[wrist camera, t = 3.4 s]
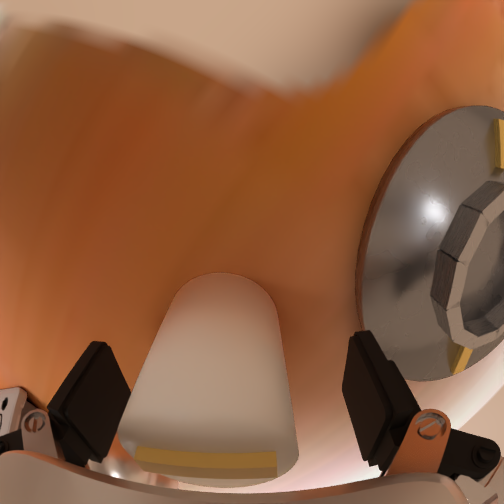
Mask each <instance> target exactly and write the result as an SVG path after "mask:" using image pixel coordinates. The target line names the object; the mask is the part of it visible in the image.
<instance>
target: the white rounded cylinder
mask: <svg viewBox="0 0 504 504" xmlns="http://www.w3.org/2000/svg"><path fill="white" fill-rule="evenodd" d="M117 434H118V439H119V441H120V443H121V445H122V446H123V448H124V449H125V450H126V451H127V452H128V453H129V455H131V456H132V457H133V458H134V461H135V462H136V463H137V464H138V465H139V466H140V467H141V469H142V470H143V471H145V472H151V473H158V474H161V475H163V476H166V477H168V478H171V479H174V480H177V481H181V482H184V483H188V484H193V485H199V486H206V487H218V488H234V487H245V486H252V485H257V484H261V483H265V482H268V481H270V480H273V479H275V478H278V477H280V476H281V475H283V474H285V473H286V472H288V471H289V470H290V469H291V468H292V467H293V466H294V465H295V463H296V462H297V460H298V456H299V452H298V444H297V437H296V430H295V423H294V416H293V409H292V403H291V396H290V389H289V383H288V376H287V370H286V363H285V357H284V351H283V344H282V338H281V332H280V326H279V319H278V313H277V309H276V306H275V304H274V302H273V300H272V299H271V297H270V295H269V294H268V293H267V292H266V291H265V290H264V289H263V288H262V287H261V286H260V285H258V284H257V283H255V282H254V281H252V280H250V279H248V278H246V277H243V276H240V275H236V274H232V273H209V274H205V275H201V276H198V277H196V278H194V279H192V280H190V281H188V282H187V283H186V284H184V285H183V286H182V287H181V288H180V289H179V290H178V292H177V293H176V295H175V296H174V298H173V300H172V302H171V305H170V307H169V309H168V311H167V313H166V315H165V317H164V320H163V322H162V324H161V326H160V328H159V331H158V333H157V335H156V337H155V339H154V342H153V344H152V346H151V348H150V351H149V353H148V355H147V358H146V360H145V362H144V365H143V367H142V369H141V372H140V374H139V376H138V379H137V381H136V383H135V386H134V388H133V391H132V393H131V396H130V398H129V400H128V403H127V405H126V408H125V410H124V413H123V416H122V418H121V421H120V423H119V426H118V429H117Z"/></svg>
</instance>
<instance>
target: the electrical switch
mask: <svg viewBox="0 0 504 504" xmlns="http://www.w3.org/2000/svg"><path fill="white" fill-rule="evenodd" d="M26 398H27V392H26V391H24V390H23V389H21V388H20V387H15V388H9V389H2V390H0V436H2V435H5V434H8V433H11V432H13V431H16V430H19V429H21V423H22V420H23V418H24V416H25V415H26V414H27V413H28V412H30V411H32V410H35V409H37V408H35V407H34V406H33V405H32V404H30V403H29V402H27V401H26Z"/></svg>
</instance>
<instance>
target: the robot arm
mask: <svg viewBox="0 0 504 504" xmlns="http://www.w3.org/2000/svg"><path fill="white" fill-rule="evenodd" d="M342 392H343V396H344V399H345V402H346V405H347V409H348V412H349V415H350V418H351V422H352V425H353V428H354V431H355V435H356V438H357V442H358V445H359V448H360V452H361V455H362V458H363V460H364V461H367V460H368V463H369V467H371V466H374V465H378V467H379V470H381V471H382V472H381V474H380V476H379V477H377V478H373V479H368V480H363V481H357V482H352V483H347V484H342V485H336V486H330V487H324V488H317V489H309V490H300V491H290V492H277V493H253V494H236V493H211V492H198V491H188V490H179V489H172V488H165V487H159V486H153V485H148V484H143V483H138V482H133V481H129V480H125V479H121V478H117V477H113V476H109V475H106V474H102V473H99V472H96V471H93V470H90V467H89V465H88V460H89V459H90V460H91V461H94V462H97V463H101V464H102V461H103V458H106V457H107V455H108V453H109V450H110V447H111V445H112V442H113V440H114V437H115V435H116V432H117V429H118V426H119V423H120V421H121V418H122V416H123V413H124V410H125V408H126V405H127V403H128V400H129V398H130V396H131V391H130V389H129V387H128V385H127V383H126V381H125V379H124V376H123V374H122V372H121V370H120V368H119V365H118V363H117V361H116V359H115V356H114V354H113V352H112V349H111V347H110V346H108V345H107V343H106V342H99V341H92V342H91V343H90V345H89V346H88V347H87V349H86V350H85V351H84V353H83V354H82V356H81V357H80V358H79V360H78V361H77V363H76V364H75V366H74V367H73V368H72V370H71V371H70V373H69V374H68V376H67V377H66V379H65V380H64V382H63V383H62V385H61V386H60V387H59V389H58V391H57V392H56V394H55V395H54V397H53V398H52V400H51V401H50V403H49V404H48V406H47V408H48V410H49V412H48V414H47V413H46V412H45V411H44V410H42V409H35V410H32V411H30V412H28V413H27V414H26V415H25V416H24V418H23V420H22V423H21V429H19V430H16V431H13V432H11V433H8V434H5V435H2V436H0V504H469V503H470V504H504V457H502V456H501V452H500V448H499V446H498V445H497V444H496V443H495V442H494V441H493V440H490V439H487V438H483V437H480V436H476V435H472V434H468V433H465V432H462V431H459V430H455V429H452V428H451V423H450V420H449V418H448V417H447V415H445V414H444V413H443V412H441V411H439V410H436V409H426V410H423V411H421V409H420V407H419V405H418V403H417V401H416V400H415V398H414V396H413V394H412V392H411V390H410V389H409V387H408V385H407V383H406V381H405V380H404V378H403V376H402V374H401V372H400V371H399V369H398V367H397V365H396V364H395V362H394V361H393V360H387V358H386V356H385V354H384V353H383V351H382V349H381V347H380V346H379V344H378V342H377V340H376V339H375V337H374V335H373V334H372V332H371V331H370V330H365V331H359V332H355V334H354V336H351V337H350V339H349V346H348V353H347V359H346V366H345V372H344V378H343V383H342ZM466 498H467V499H468V501H467V499H466Z"/></svg>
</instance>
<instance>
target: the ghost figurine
mask: <svg viewBox="0 0 504 504" xmlns="http://www.w3.org/2000/svg"><path fill="white" fill-rule="evenodd" d="M88 465H89V467H90V470H93V471H96V472H99V473H102V474H106V475H109V476H113V477H117V478H121V479H125V480H129V481H133V482H138V483H143V484H148V485H153V486H159V487H165V488H172V489H178V487H179V485H178V481H177V480H174V479H171V478H168V477H166V476H163V475H161V474H158V473H151V472H145V471H143V470H142V469H141V467H140V466H139V465H138V464H137V463H136V462H135V461H134V458H133V457H132V456H131V455H129V453H128V452H127V451H126V450H125V449H124V448H123V446H122V445H121V443H120V441H119V439H118V434H117V432H116V435H115V437H114V440H113V442H112V445H111V447H110V450H109V453H108V455H107V457H106V458H103V461H102V464H101V463H97V462H94V461H91V460H90V459H89V460H88Z"/></svg>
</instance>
